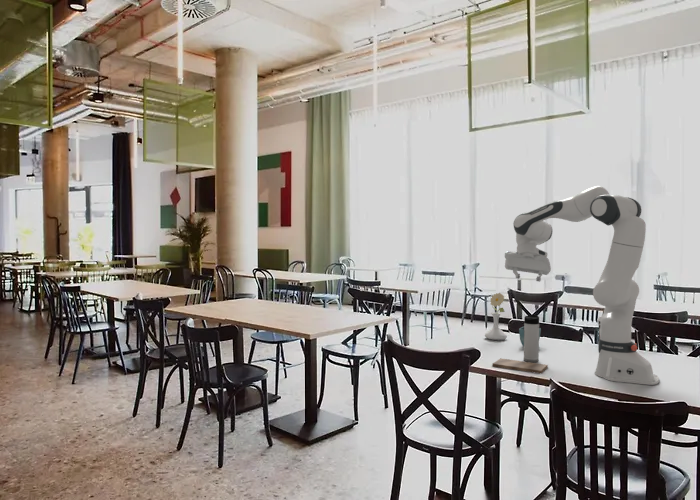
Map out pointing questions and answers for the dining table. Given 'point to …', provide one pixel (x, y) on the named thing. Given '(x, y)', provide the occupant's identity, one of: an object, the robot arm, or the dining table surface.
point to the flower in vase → (496, 319)
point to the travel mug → (531, 338)
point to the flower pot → (521, 333)
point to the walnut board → (520, 365)
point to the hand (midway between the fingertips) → (528, 279)
